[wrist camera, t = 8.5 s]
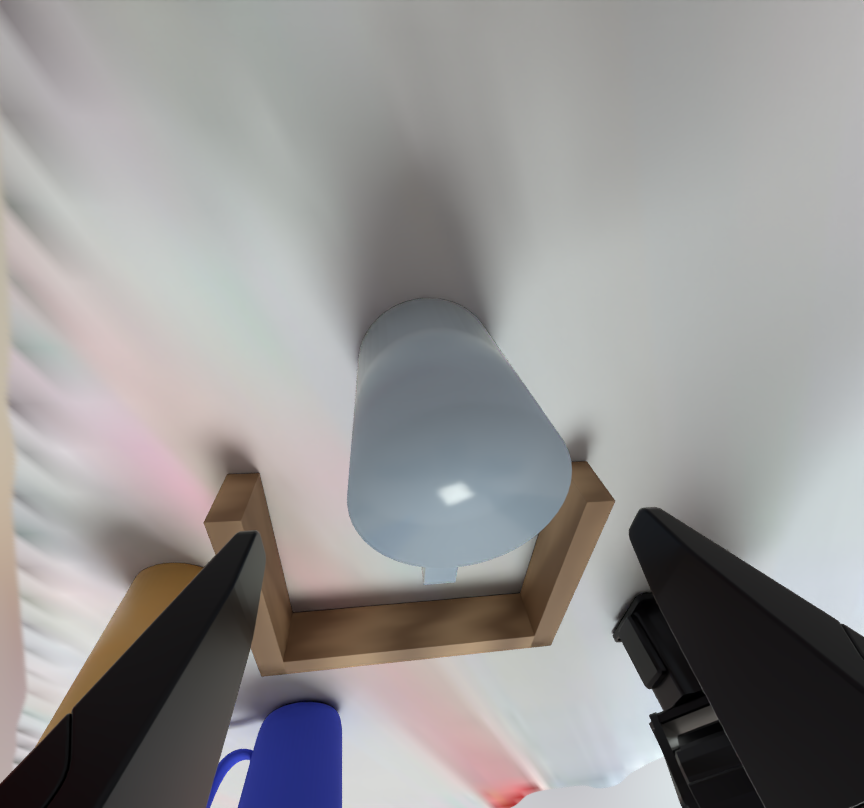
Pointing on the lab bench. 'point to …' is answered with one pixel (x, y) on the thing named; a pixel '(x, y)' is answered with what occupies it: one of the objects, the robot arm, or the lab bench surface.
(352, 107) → the lab bench surface
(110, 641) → the reagent bottle
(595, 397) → the lab bench surface
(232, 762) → the mug
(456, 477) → the pale blue canister
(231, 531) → the cradle
